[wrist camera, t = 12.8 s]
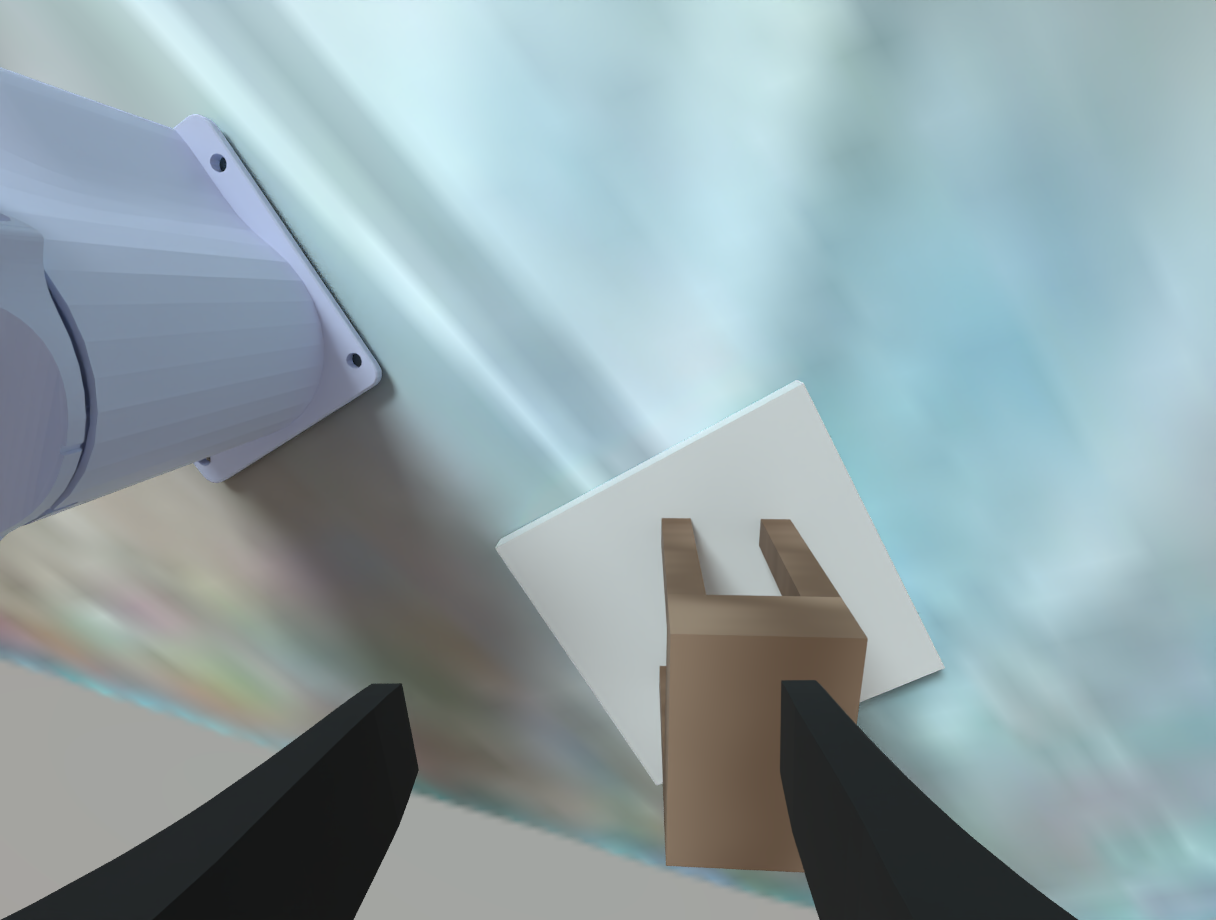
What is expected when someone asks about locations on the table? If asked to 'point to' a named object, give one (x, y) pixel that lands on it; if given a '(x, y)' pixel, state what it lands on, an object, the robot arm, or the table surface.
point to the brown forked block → (743, 696)
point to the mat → (710, 556)
